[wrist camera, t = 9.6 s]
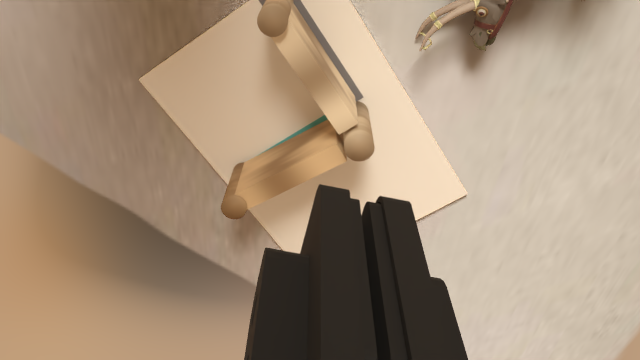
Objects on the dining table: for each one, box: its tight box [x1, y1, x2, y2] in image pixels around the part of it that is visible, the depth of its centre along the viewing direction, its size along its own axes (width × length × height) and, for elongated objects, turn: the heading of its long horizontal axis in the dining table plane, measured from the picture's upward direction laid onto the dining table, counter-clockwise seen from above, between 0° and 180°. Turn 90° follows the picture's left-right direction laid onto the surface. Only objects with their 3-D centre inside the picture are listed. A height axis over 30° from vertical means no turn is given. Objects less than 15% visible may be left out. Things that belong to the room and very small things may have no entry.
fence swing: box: [221, 119, 347, 219], centre depth 40 cm, size 10×2×5 cm, turn 119°
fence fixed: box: [257, 0, 375, 162], centre depth 36 cm, size 12×2×6 cm, turn 33°
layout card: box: [139, 0, 468, 254], centre depth 42 cm, size 22×16×1 cm
